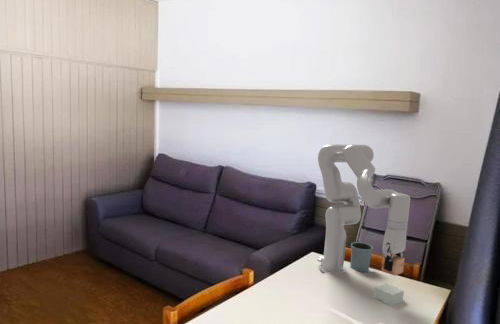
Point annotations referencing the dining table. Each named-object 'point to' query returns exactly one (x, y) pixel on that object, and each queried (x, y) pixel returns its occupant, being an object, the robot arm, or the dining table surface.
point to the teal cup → (360, 256)
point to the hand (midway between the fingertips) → (392, 268)
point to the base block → (388, 293)
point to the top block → (395, 265)
